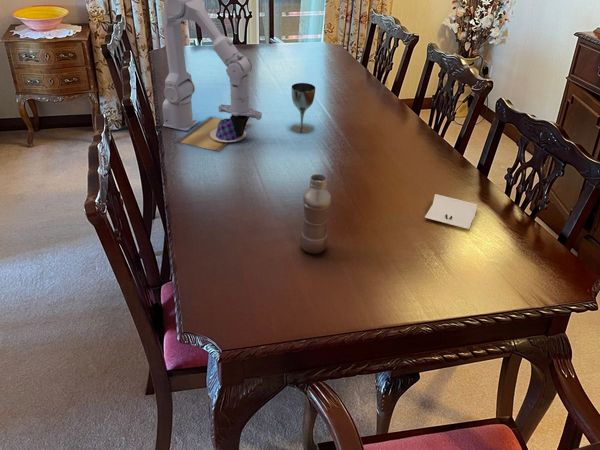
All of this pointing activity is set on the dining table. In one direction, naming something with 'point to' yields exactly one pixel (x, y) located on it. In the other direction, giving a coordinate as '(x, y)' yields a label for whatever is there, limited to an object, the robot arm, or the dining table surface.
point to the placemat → (204, 136)
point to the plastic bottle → (315, 215)
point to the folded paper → (452, 211)
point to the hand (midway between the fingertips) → (240, 135)
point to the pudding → (226, 132)
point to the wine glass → (302, 103)
